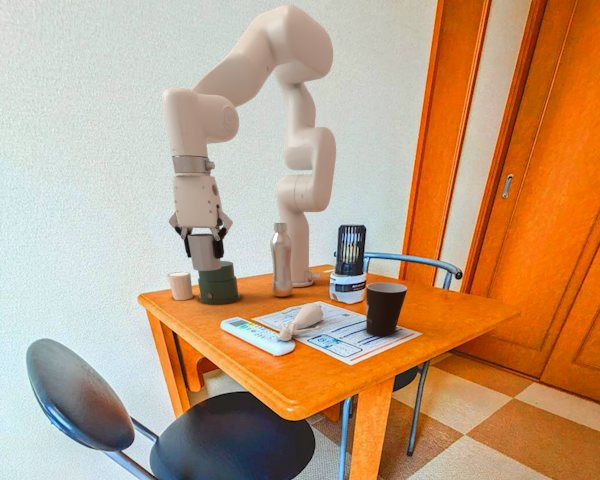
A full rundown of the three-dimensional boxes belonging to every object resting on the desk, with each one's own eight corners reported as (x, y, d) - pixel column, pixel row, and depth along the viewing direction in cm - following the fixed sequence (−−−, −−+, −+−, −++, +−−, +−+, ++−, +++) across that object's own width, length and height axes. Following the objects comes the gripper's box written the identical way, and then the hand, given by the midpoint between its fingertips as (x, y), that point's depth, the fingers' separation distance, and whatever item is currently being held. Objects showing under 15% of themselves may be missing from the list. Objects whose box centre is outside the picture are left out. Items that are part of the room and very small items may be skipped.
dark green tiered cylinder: (246, 294, 99) (242, 260, 94) (230, 305, 89) (225, 268, 84) (211, 292, 102) (206, 259, 96) (192, 303, 92) (185, 267, 86)
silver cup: (225, 266, 81) (221, 233, 77) (213, 271, 75) (208, 236, 71) (201, 265, 82) (196, 233, 78) (188, 270, 77) (181, 236, 73)
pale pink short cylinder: (180, 302, 93) (175, 277, 89) (167, 298, 96) (161, 274, 92) (199, 296, 97) (195, 273, 94) (186, 293, 101) (181, 270, 97)
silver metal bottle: (268, 297, 96) (264, 223, 85) (278, 292, 101) (275, 222, 90) (287, 299, 94) (285, 224, 83) (296, 294, 99) (295, 222, 88)
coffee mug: (392, 341, 67) (400, 294, 62) (355, 333, 71) (360, 288, 66) (407, 325, 75) (416, 282, 70) (374, 319, 79) (379, 278, 74)
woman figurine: (338, 303, 75) (305, 332, 63) (337, 320, 78) (306, 351, 65) (295, 297, 80) (257, 323, 67) (296, 314, 83) (259, 342, 70)
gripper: (236, 169, 69) (244, 256, 79) (166, 170, 72) (182, 254, 82) (221, 166, 63) (232, 261, 73) (146, 168, 66) (166, 258, 76)
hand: (205, 256), depth 77 cm, fingers closed on silver cup, 6 cm apart
